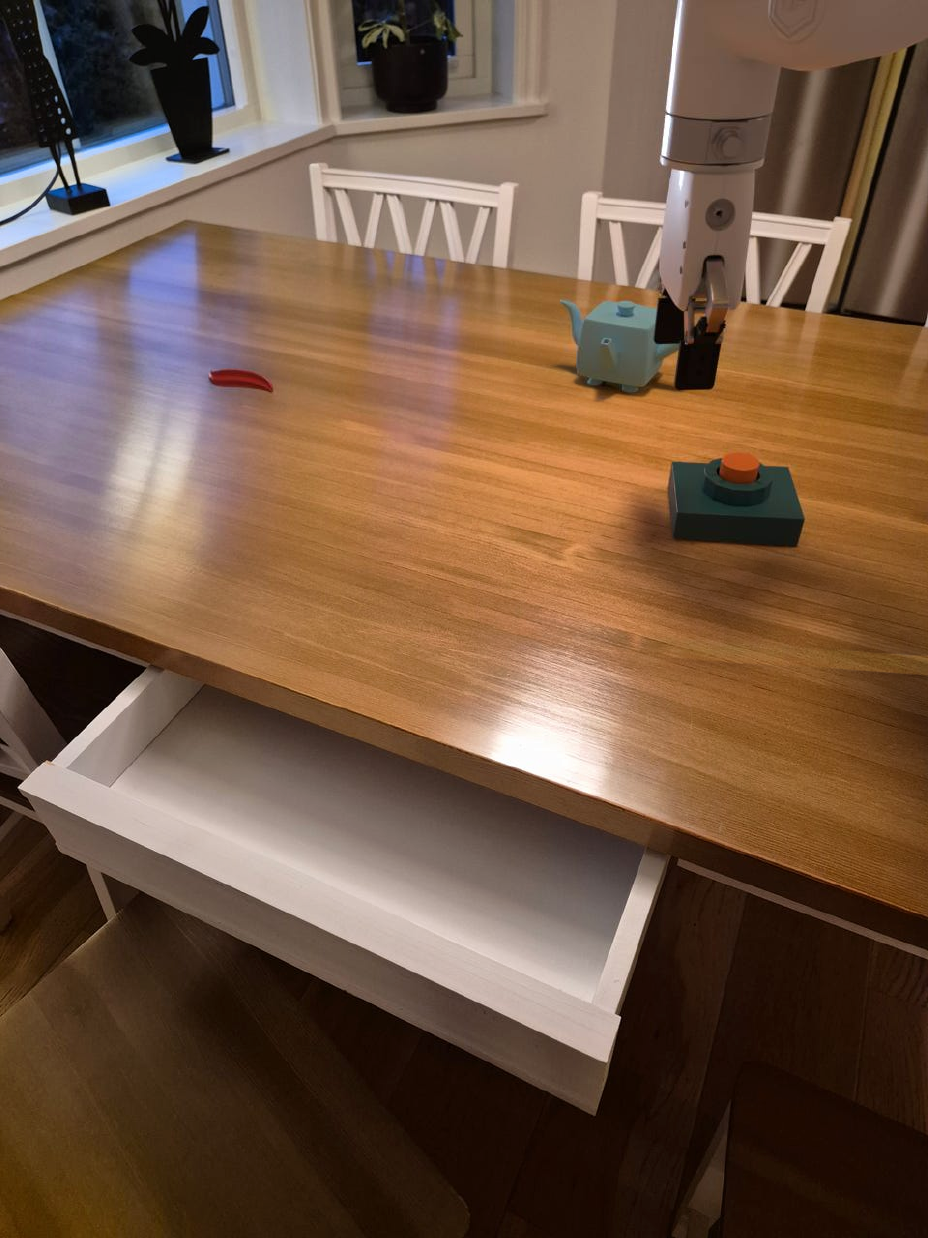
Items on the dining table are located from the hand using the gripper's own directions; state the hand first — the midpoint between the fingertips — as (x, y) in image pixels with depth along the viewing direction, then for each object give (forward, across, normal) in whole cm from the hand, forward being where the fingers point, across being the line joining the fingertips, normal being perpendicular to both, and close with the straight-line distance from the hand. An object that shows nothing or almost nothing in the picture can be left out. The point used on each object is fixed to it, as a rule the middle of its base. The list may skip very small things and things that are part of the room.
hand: (681, 364), depth 72 cm
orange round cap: (+13, +3, -8) cm, 16 cm away
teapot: (+18, +36, -1) cm, 41 cm away
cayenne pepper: (+18, +38, +50) cm, 66 cm away
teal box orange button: (+18, +3, -8) cm, 20 cm away
